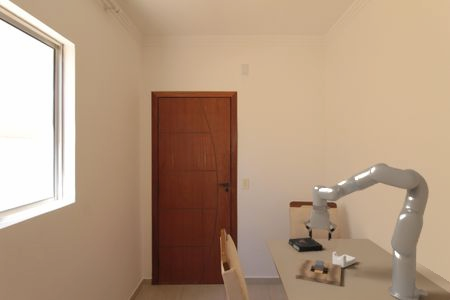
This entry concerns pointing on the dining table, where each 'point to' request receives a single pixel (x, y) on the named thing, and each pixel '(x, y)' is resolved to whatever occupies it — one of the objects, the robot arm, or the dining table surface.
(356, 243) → the dining table surface
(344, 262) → the bracket
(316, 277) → the plate
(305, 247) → the portable cd player
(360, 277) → the dining table surface
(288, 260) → the dining table surface
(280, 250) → the dining table surface
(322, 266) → the block
